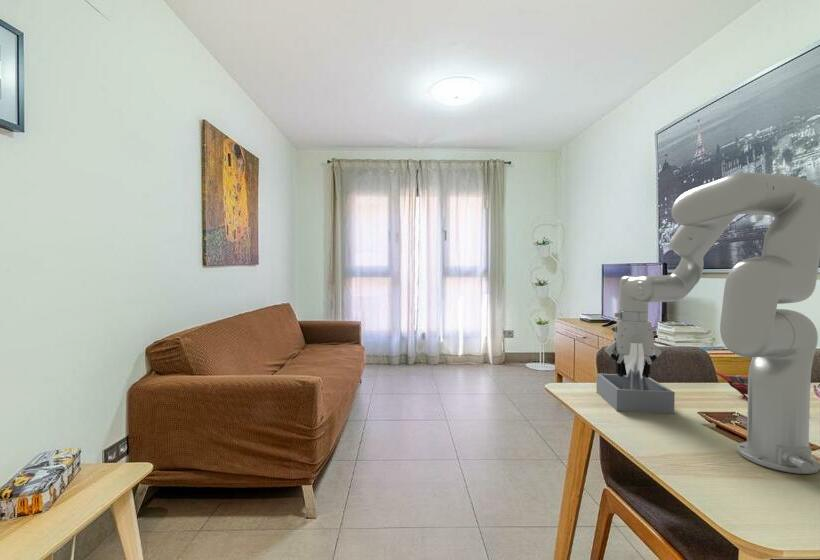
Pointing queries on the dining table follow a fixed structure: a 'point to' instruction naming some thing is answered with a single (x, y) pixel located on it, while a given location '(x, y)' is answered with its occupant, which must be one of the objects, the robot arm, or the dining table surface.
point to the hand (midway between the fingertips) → (632, 375)
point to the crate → (636, 395)
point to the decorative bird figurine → (737, 383)
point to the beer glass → (633, 367)
